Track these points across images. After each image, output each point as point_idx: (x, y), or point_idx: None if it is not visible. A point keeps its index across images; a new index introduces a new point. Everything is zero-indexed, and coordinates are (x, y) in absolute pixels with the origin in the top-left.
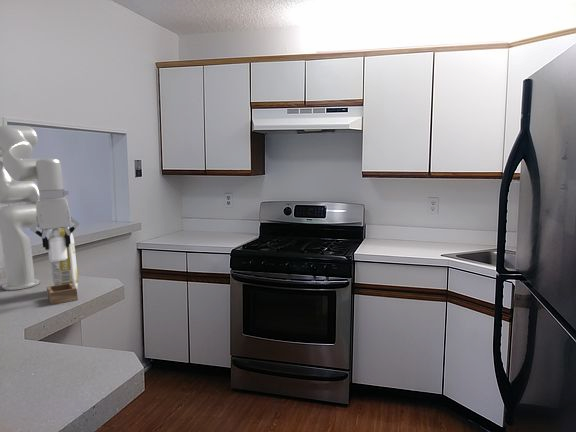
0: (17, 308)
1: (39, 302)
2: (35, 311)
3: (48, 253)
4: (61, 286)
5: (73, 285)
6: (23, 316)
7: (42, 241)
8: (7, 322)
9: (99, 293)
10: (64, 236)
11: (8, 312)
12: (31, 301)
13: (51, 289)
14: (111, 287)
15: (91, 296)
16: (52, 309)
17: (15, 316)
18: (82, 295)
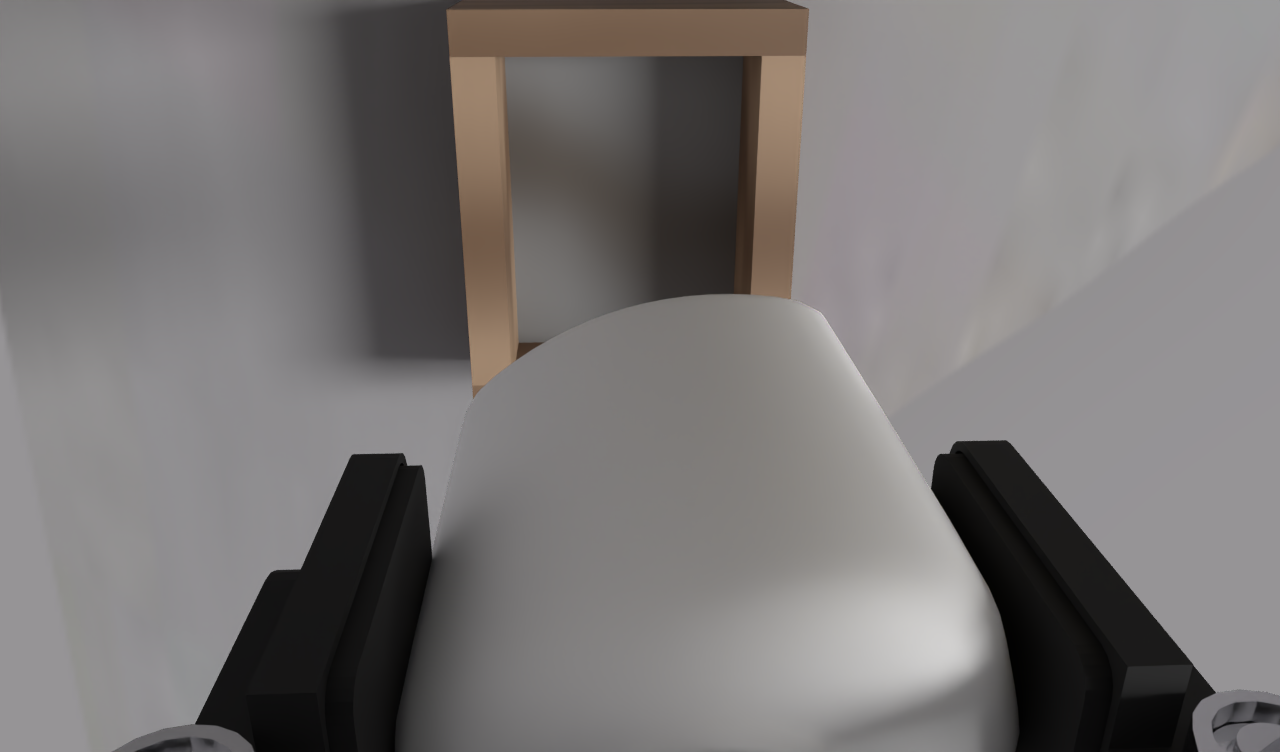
0: (123, 237)
1: (361, 147)
2: (321, 482)
3: (446, 503)
4: (652, 54)
5: (791, 214)
6: (217, 567)
7: (225, 699)
8: (93, 649)
9: (1032, 248)
10: (1063, 658)
11: (45, 334)
12: (264, 17)
13: (499, 227)
14: (1260, 56)
15: (919, 314)
16: None
17: (141, 521)
18: (852, 194)
